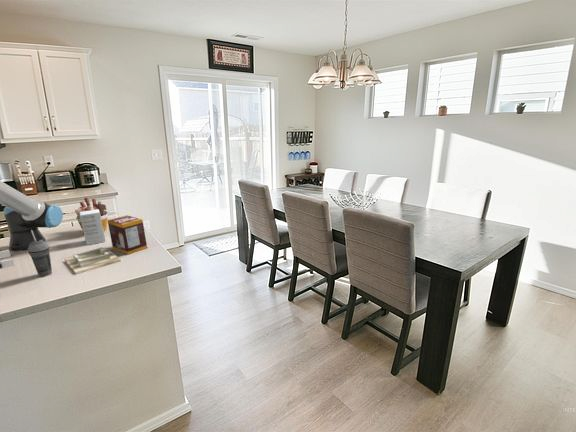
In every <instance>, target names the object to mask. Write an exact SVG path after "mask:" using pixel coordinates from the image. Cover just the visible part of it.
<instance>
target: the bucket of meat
mask: <svg viewBox="0 0 576 432" xmlns="http://www.w3.org/2000/svg"><path fill="white" fill-rule="evenodd" d="M84 202H85V203H84ZM84 202H83V201H80V202H79V205H80V207H78V208H77V209H75V210H74V212H75V214H76V217H75V219H76V220H77V223H78V224H79V226H80V228H81V230H82V233H84V231H83V227H82V223H81V218H80V212H83V211H90V210H97V209H99V212H100V215H101V220H102V225H103V230H104V232H105V231H106V230H107V227H108V221H107V220H108V215H109V211H108V210H107V206H106V205H105V204H102V200H98V201H97V200H96V199H95V198H92V199H91V202H92V204H91V202H90V200H89V198H88V197H84Z"/></svg>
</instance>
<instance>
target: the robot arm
mask: <svg viewBox="0 0 576 432" xmlns="http://www.w3.org/2000/svg"><path fill="white" fill-rule="evenodd" d="M0 205H1V206H4V208H3V213H4V217H5V221H6V225H7V227H8V231H9V233H10V236H9V243H8V245H9V249H6V250H2V251H0V259H1V261H0V270H3V269H5V268H6V269H7V268H10V267H15V263H14V260H13V258H9V257H11V252H10V251H14V252H15V251H25V250H26V251H28V246H29V244H30V243H31V242H33V241H34V238H33V235H32V232H31V230H32V231H33V233H34V236H35V239H36V240H43V241H45V242H46V243H47V241H46V238H45V236H44V235H43V234H42V233H41V231H40V230H39V228H42V229H43V228H48V229H50V228H56V227H58V226H59V225H61V223H62V221H63V217H64V216H63V215H64V213H63V210H62V208H61V207H60V206H58V205H56V204H48V203H46V202H44V201H43V200H41V199H33V198H31V197H29V196H28V195H26V194H24V193H23V192H20V190H17V189H15V188H13V187H12V186H10V185H8V184H7V183H5V182H3V181H1V180H0ZM5 258H9V259H5ZM2 259H5V260H2Z"/></svg>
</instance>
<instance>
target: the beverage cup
mask: <svg viewBox="0 0 576 432" xmlns="http://www.w3.org/2000/svg"><path fill="white" fill-rule="evenodd" d="M31 232H32V235H33V238H34V241H33V242H31V243H30V244H29V246H28V249H27V253H28V254H29V256H30V257H31V261H32V262H33V265H34V268H35V270H36V273H37V275H38V277H40V278H44V277H49V276H50V275H52V274H53V268H52V262H51V256H50V251H51V250H50V249H51V248H50V246H49V244H48V243H47V241H46V240H45V241H46V242H45V241H43V240H36V239H35V236H34V233H33V231H32V230H31Z"/></svg>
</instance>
